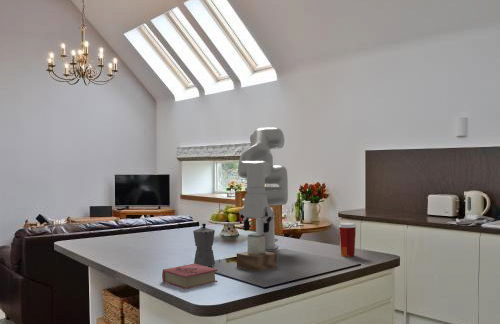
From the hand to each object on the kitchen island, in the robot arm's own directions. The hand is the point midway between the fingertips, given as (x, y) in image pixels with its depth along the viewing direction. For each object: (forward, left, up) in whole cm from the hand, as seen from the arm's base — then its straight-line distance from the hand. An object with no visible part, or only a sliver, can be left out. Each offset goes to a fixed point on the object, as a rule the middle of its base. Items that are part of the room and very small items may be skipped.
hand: (256, 231), depth 197 cm
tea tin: (0, 0, -9) cm, 9 cm away
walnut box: (+1, 0, -15) cm, 15 cm away
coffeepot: (+9, -22, -15) cm, 28 cm away
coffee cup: (-41, +24, -15) cm, 50 cm away
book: (+34, -8, -16) cm, 39 cm away
